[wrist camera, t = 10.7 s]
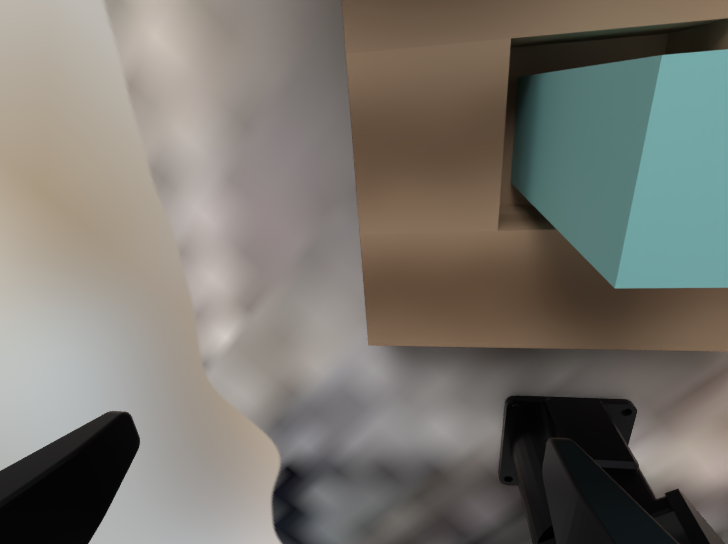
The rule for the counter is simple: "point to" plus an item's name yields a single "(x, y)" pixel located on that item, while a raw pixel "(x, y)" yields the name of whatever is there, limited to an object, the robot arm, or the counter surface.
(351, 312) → the counter surface
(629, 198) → the teal peg
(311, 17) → the counter surface
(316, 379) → the counter surface
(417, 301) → the walnut socket
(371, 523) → the counter surface
